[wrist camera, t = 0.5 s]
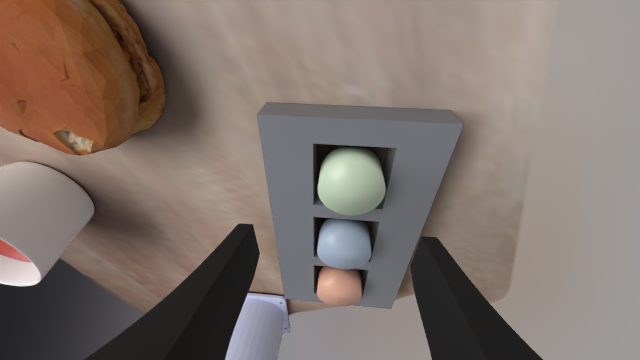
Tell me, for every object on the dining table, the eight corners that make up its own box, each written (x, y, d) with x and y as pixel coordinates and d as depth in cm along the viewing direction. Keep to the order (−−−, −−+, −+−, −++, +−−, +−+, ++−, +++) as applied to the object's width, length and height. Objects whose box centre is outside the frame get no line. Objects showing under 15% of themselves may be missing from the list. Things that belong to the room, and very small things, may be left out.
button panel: (388, 290, 26) (391, 308, 24) (288, 280, 27) (284, 298, 25) (450, 110, 14) (463, 124, 12) (266, 102, 15) (256, 114, 13)
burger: (25, -111, 10) (-156, -173, 7) (201, 76, 14) (150, 102, 11) (-21, 43, 14) (-149, 58, 11) (126, 154, 19) (70, 193, 15)
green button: (376, 197, 17) (379, 217, 15) (320, 193, 17) (317, 213, 16) (386, 147, 14) (391, 164, 13) (320, 143, 15) (317, 160, 13)
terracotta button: (358, 287, 24) (359, 308, 22) (318, 284, 24) (316, 304, 23) (363, 264, 22) (364, 285, 20) (319, 260, 22) (316, 280, 20)
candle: (42, 136, 18) (-77, 189, 13) (129, 219, 23) (68, 281, 18) (-29, 161, 20) (-155, 214, 15) (64, 232, 25) (-7, 290, 20)
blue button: (365, 250, 20) (367, 271, 19) (319, 246, 21) (317, 266, 19) (372, 217, 18) (374, 238, 16) (319, 213, 18) (317, 233, 17)
